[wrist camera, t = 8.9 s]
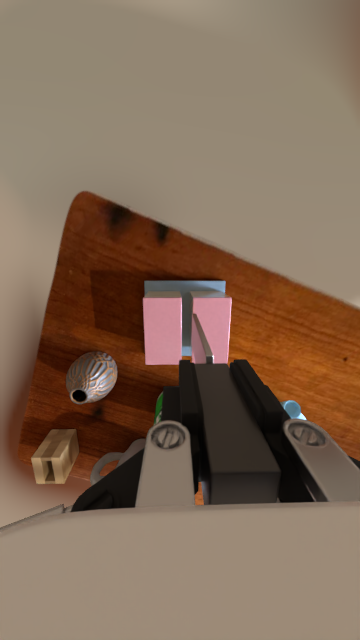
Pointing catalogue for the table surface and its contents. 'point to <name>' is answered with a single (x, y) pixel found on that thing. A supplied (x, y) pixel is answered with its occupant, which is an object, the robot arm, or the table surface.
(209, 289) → the cake
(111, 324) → the table surface
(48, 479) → the knife block
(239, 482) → the knife
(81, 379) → the vase
